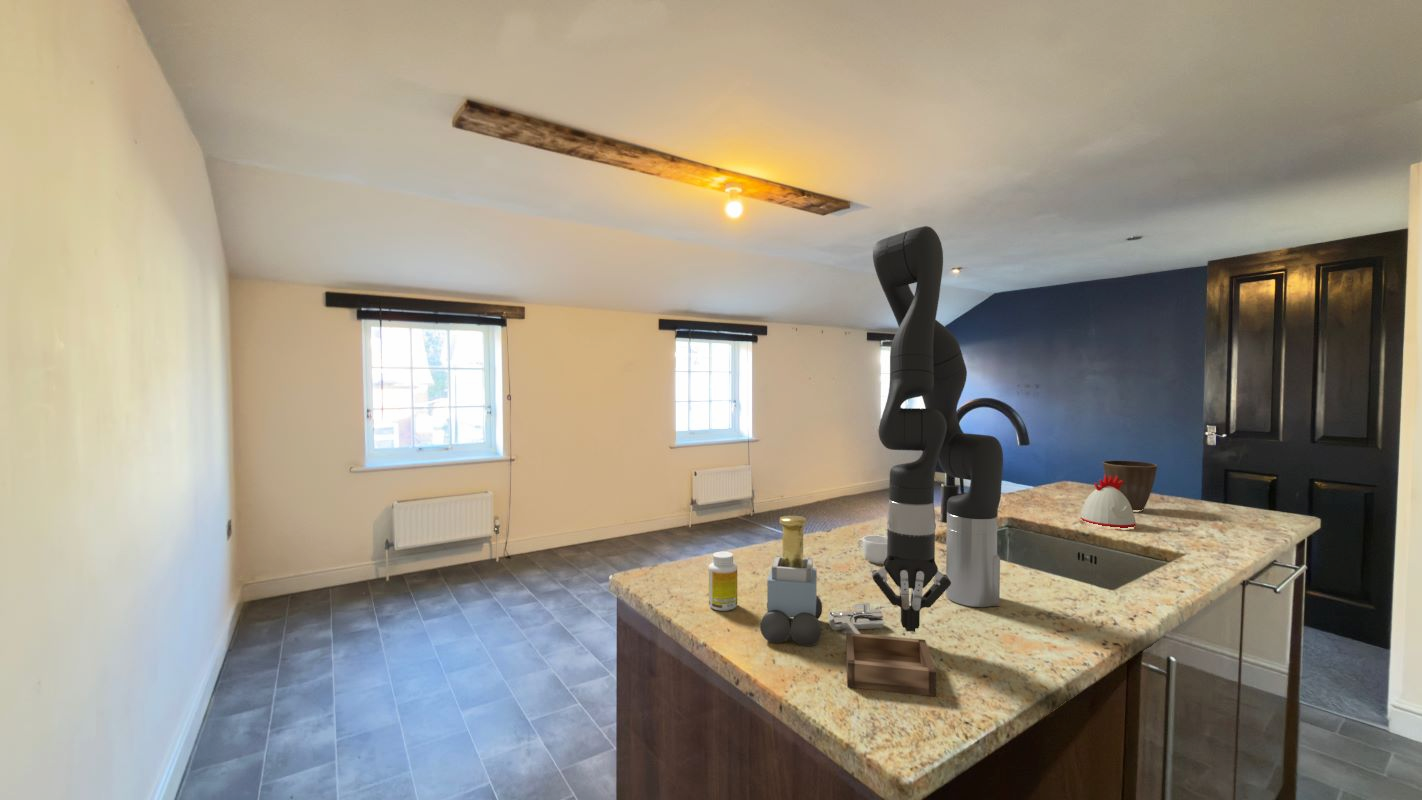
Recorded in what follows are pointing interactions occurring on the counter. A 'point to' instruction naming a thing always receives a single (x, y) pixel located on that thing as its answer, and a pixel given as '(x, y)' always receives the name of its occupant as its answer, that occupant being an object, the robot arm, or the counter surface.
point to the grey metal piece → (856, 619)
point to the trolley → (792, 604)
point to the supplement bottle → (723, 582)
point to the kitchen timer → (1108, 506)
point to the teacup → (874, 548)
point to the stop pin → (792, 541)
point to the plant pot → (1133, 480)
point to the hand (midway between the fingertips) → (909, 629)
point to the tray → (889, 664)
